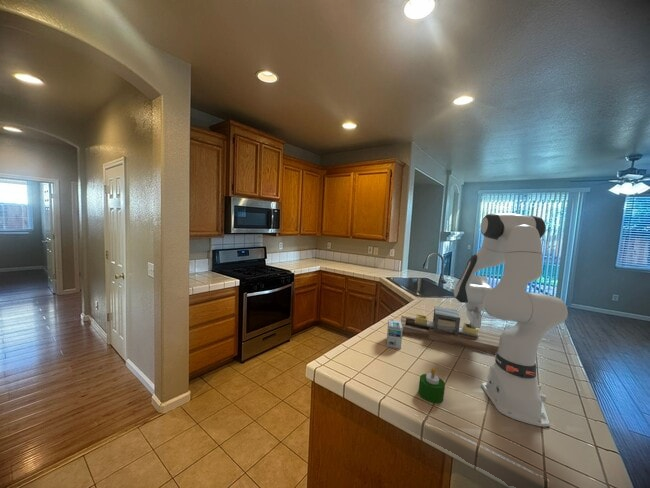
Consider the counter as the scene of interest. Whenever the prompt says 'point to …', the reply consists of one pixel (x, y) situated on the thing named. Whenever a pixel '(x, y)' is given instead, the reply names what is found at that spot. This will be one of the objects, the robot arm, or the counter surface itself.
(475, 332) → the sled
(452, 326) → the maple block
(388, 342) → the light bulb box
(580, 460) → the counter surface
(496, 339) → the tunnel deck
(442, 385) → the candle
